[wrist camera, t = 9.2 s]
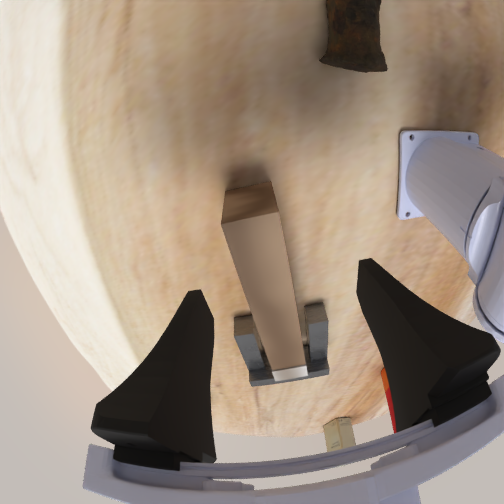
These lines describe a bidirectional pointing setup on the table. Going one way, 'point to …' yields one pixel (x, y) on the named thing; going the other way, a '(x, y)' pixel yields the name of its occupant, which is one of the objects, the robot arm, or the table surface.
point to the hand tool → (354, 36)
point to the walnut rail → (265, 274)
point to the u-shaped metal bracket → (313, 350)
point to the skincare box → (339, 434)
